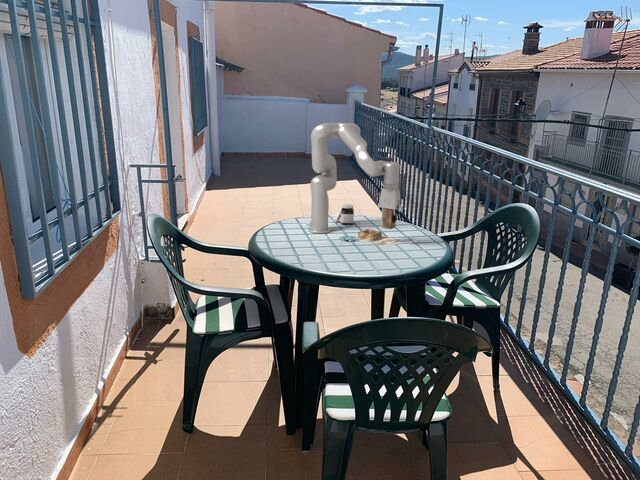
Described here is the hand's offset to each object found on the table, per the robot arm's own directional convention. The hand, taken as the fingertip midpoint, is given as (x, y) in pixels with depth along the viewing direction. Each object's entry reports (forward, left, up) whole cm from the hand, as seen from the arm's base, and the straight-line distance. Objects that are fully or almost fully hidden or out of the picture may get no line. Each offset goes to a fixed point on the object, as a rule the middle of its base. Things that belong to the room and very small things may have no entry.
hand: (389, 220), depth 263 cm
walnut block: (0, 0, -4) cm, 4 cm away
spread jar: (-42, +19, -12) cm, 47 cm away
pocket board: (-6, 0, -12) cm, 13 cm away
